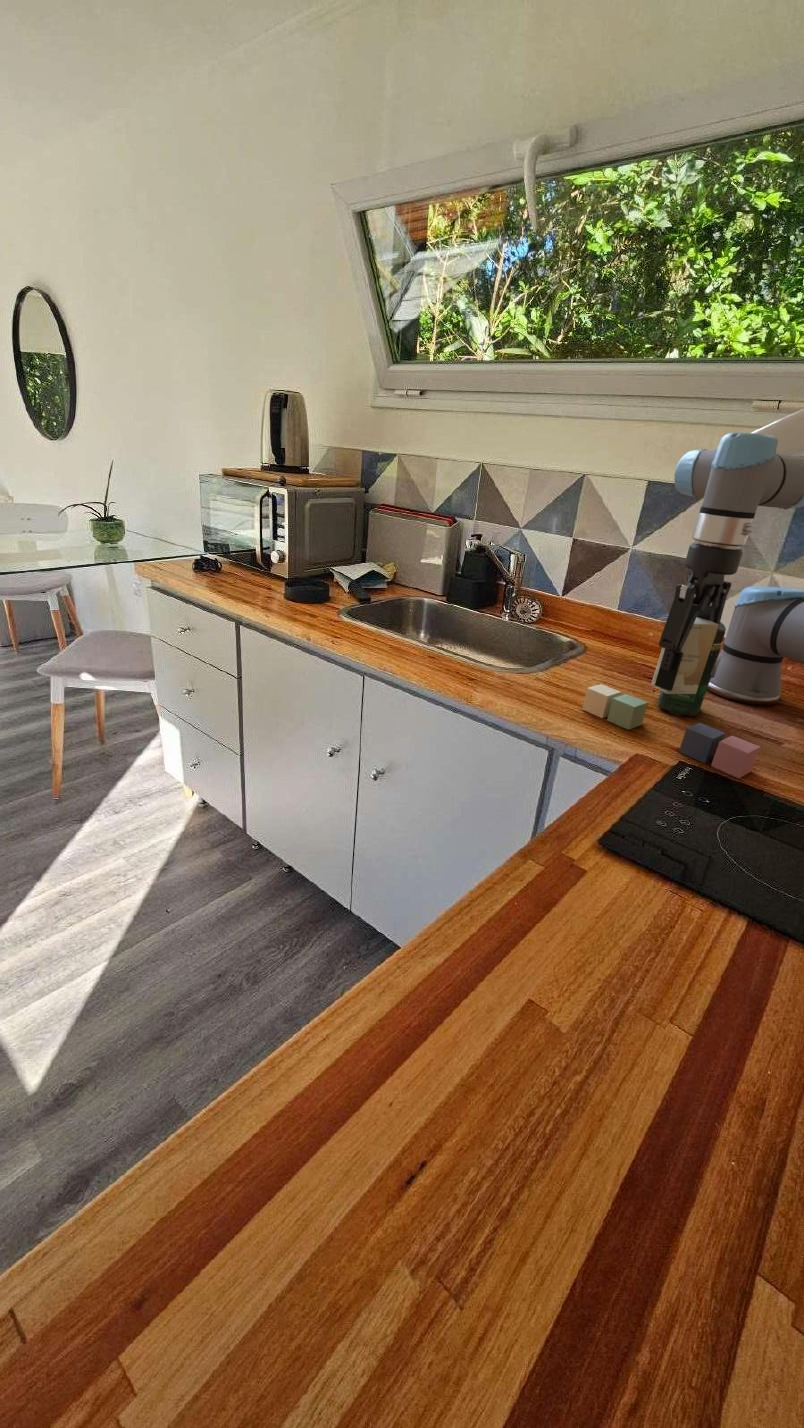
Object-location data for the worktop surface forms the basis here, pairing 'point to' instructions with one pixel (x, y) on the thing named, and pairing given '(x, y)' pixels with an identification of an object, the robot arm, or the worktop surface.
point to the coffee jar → (693, 702)
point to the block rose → (735, 756)
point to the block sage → (627, 711)
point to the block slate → (701, 742)
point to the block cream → (599, 700)
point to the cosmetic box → (691, 658)
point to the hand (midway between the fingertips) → (675, 683)
